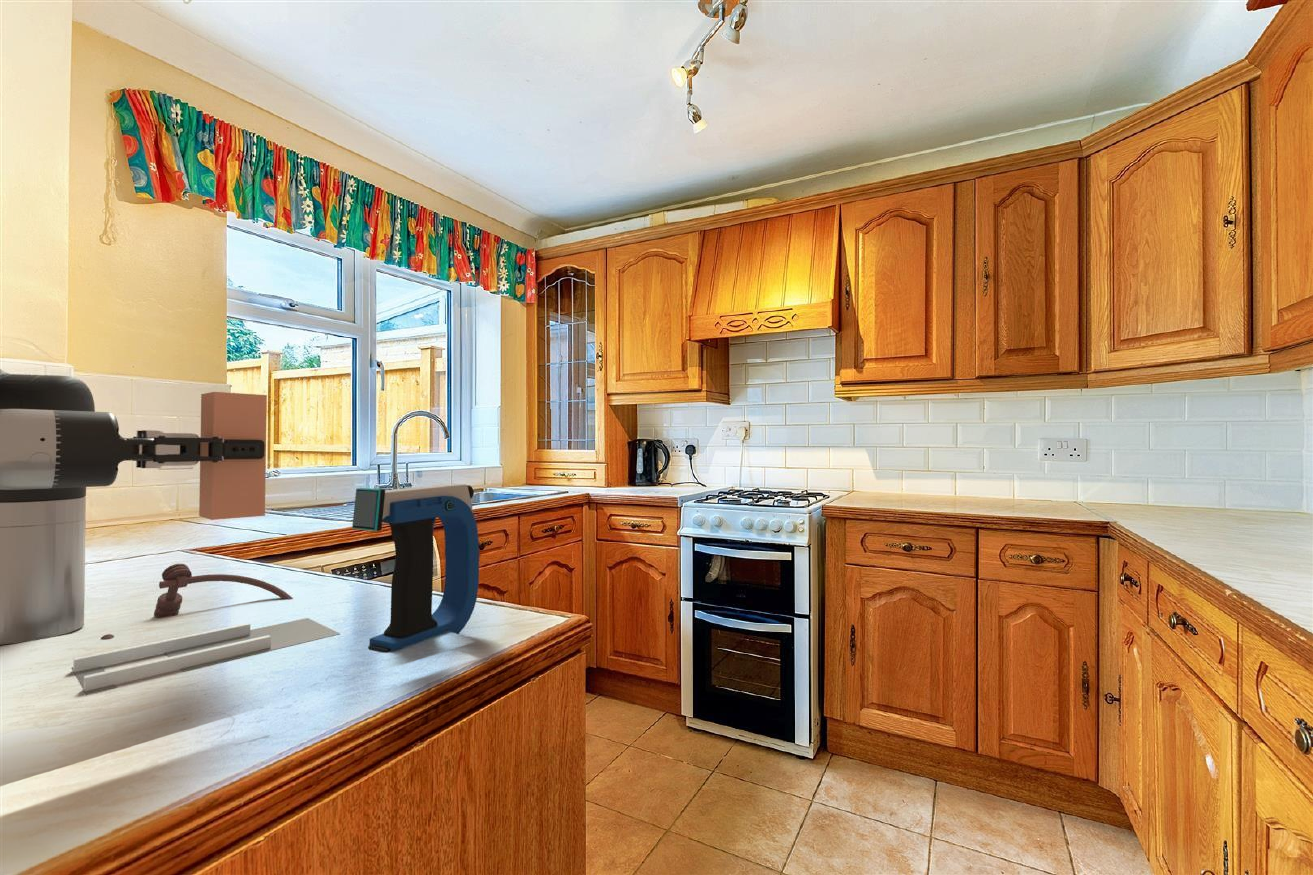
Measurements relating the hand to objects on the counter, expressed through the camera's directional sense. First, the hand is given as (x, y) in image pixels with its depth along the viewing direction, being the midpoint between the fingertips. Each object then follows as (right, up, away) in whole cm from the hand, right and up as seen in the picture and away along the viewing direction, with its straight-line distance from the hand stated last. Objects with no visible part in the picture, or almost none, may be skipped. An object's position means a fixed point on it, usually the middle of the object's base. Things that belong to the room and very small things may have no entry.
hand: (254, 449), depth 68 cm
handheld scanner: (+19, -24, +2) cm, 31 cm away
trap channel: (-1, -24, -3) cm, 24 cm away
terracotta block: (-1, -8, -2) cm, 8 cm away
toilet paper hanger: (-17, -25, +11) cm, 32 cm away
